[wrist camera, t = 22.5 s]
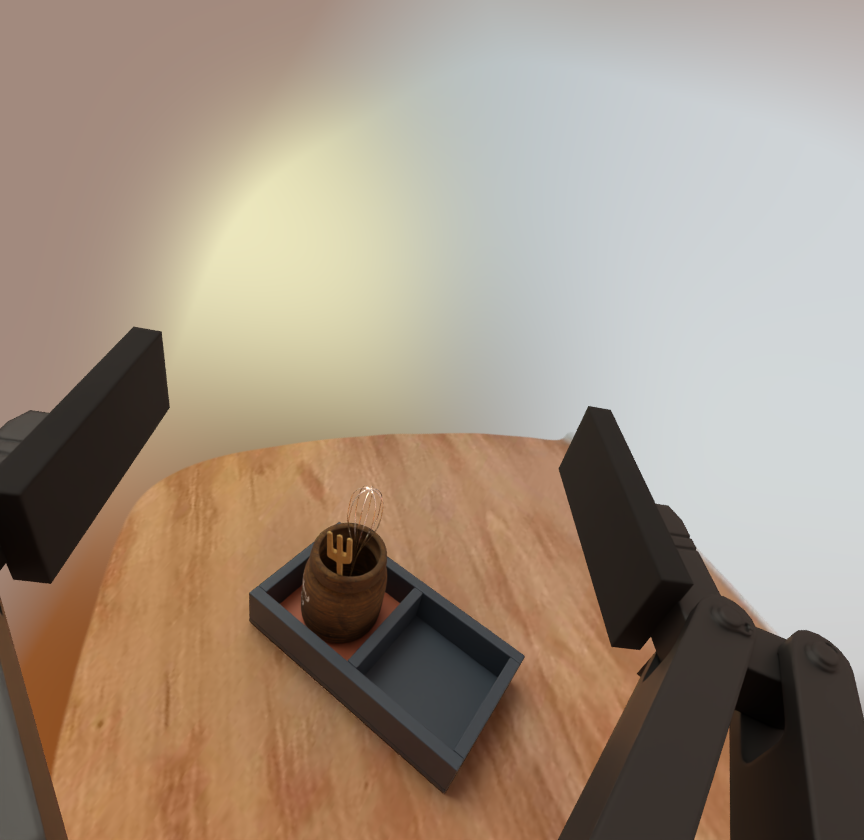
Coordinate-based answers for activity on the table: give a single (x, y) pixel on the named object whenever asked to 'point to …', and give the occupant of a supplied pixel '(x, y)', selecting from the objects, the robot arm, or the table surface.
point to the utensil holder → (344, 581)
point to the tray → (399, 666)
